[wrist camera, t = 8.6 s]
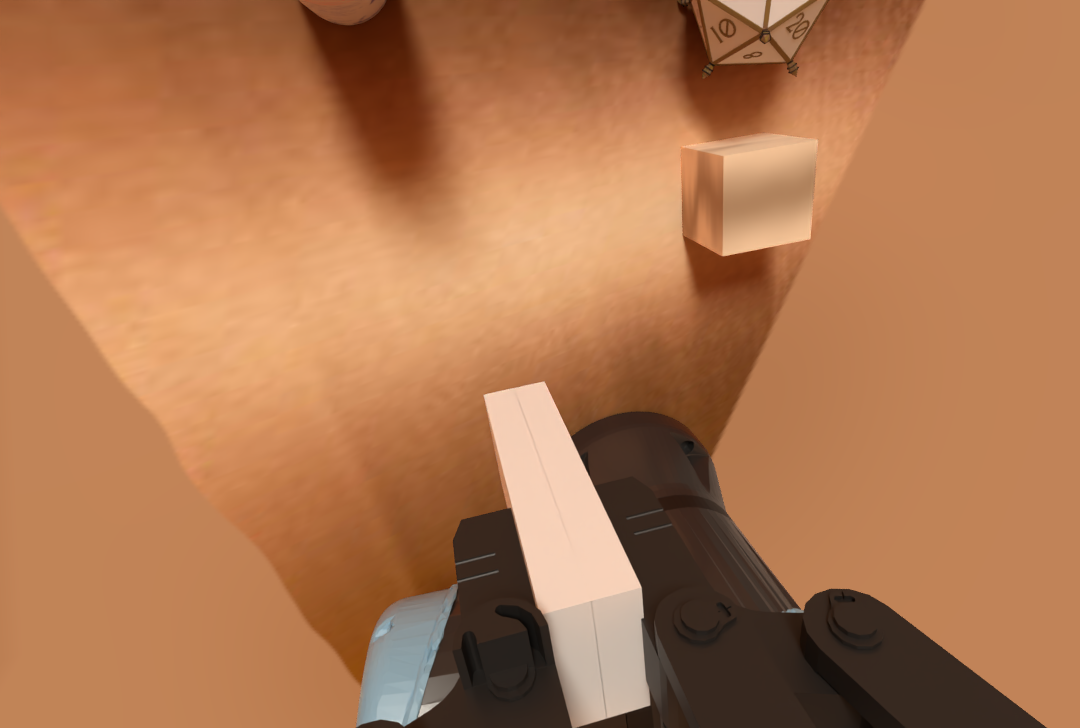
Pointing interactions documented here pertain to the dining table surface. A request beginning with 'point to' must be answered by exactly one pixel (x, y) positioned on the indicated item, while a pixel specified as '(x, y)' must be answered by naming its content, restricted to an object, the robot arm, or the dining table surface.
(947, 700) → the robot arm
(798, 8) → the game die
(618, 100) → the dining table surface
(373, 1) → the energy drink
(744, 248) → the beech block
